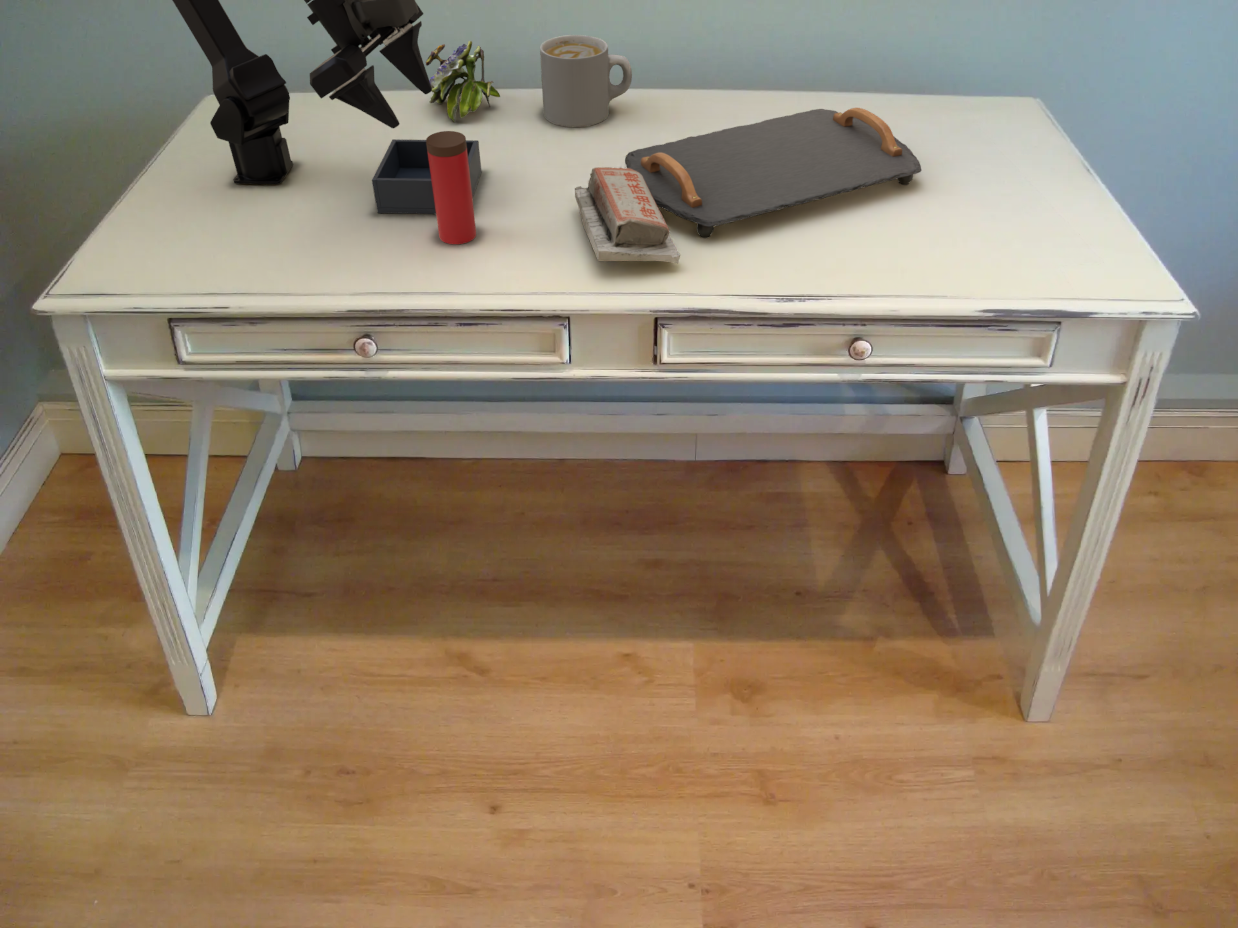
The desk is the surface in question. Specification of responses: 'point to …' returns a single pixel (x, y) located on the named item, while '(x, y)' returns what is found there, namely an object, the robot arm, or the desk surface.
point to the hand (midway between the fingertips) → (413, 109)
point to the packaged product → (624, 218)
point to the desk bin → (413, 177)
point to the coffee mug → (579, 80)
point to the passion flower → (467, 89)
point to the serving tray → (772, 165)
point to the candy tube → (451, 186)
